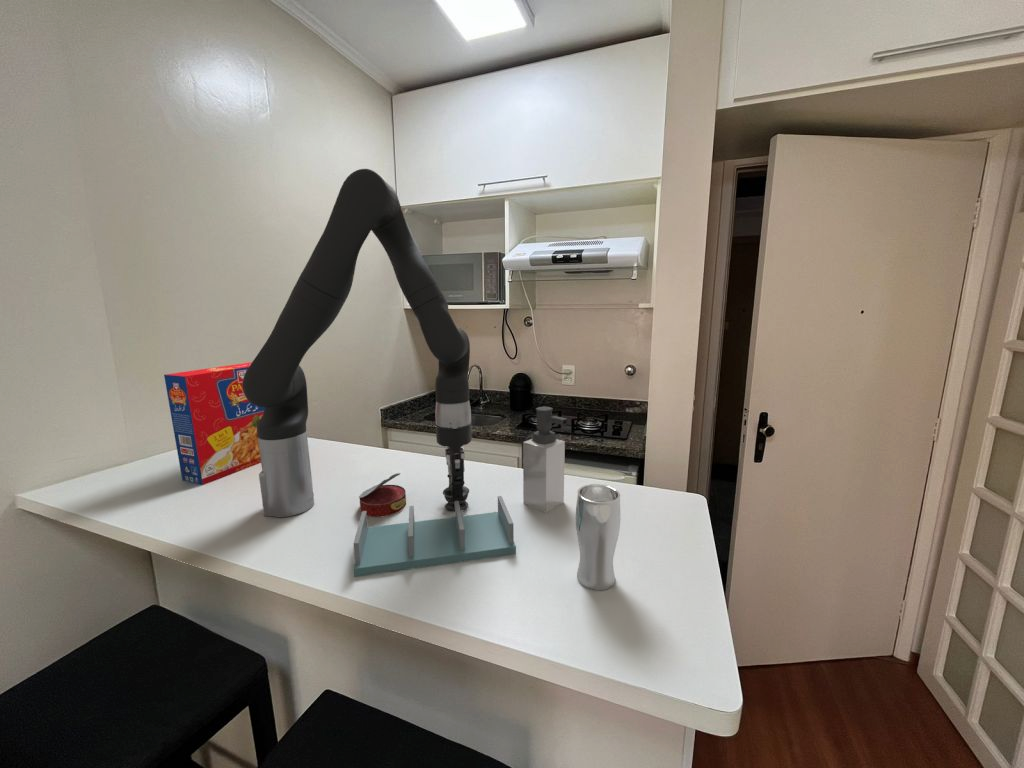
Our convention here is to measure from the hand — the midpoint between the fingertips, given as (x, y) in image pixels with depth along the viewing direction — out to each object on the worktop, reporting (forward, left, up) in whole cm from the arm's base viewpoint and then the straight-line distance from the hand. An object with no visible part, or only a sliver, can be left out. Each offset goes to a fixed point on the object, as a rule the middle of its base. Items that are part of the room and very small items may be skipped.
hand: (456, 493), depth 91 cm
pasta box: (-57, +40, -3) cm, 70 cm away
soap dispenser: (+20, -4, -3) cm, 21 cm away
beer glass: (+20, -30, -3) cm, 36 cm away
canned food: (-16, +4, -4) cm, 17 cm away
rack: (-5, -14, -3) cm, 15 cm away
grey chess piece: (0, 0, -3) cm, 3 cm away
